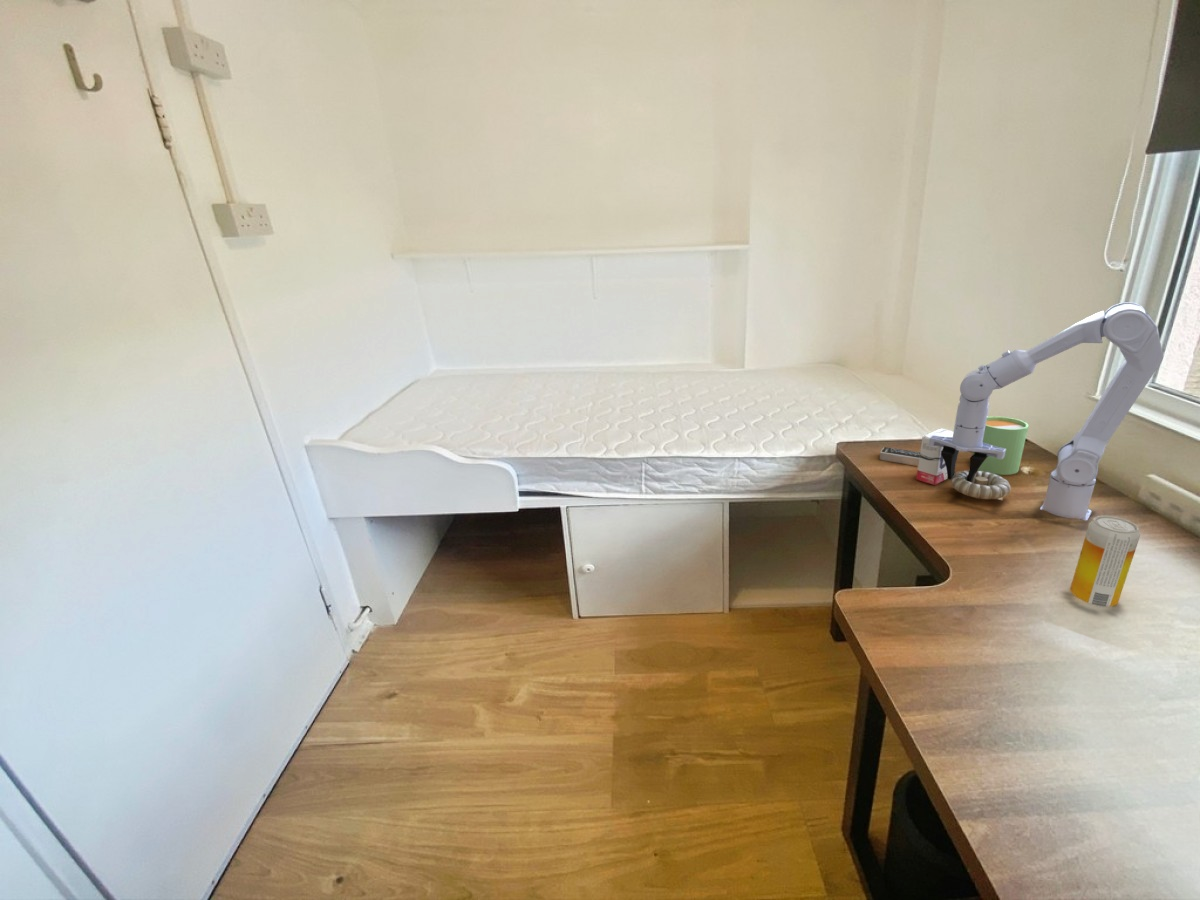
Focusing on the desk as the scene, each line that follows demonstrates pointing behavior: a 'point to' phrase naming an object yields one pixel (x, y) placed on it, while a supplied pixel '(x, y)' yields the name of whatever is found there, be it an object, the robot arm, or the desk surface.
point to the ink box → (932, 459)
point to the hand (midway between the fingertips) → (959, 479)
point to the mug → (1004, 444)
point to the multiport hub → (900, 456)
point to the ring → (993, 490)
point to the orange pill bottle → (1105, 560)
